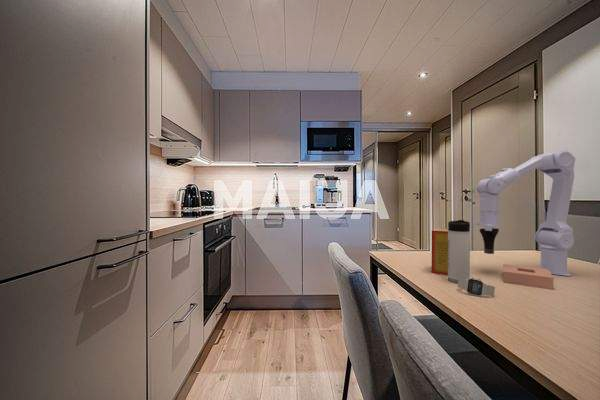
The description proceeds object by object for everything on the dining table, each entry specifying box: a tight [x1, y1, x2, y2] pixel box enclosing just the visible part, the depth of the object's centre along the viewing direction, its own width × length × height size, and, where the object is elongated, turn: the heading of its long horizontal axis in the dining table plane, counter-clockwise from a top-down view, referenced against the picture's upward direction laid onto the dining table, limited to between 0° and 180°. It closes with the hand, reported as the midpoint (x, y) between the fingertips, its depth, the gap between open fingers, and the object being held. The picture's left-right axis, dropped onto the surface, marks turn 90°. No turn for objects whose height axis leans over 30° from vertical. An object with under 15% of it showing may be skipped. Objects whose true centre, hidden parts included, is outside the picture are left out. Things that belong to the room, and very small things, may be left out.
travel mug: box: [447, 219, 471, 284], centre depth 91 cm, size 6×7×20 cm
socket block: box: [502, 263, 554, 290], centre depth 91 cm, size 12×12×4 cm
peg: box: [483, 245, 495, 255], centre depth 100 cm, size 3×3×7 cm
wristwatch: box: [457, 276, 496, 297], centre depth 80 cm, size 9×6×5 cm
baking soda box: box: [431, 227, 448, 276], centre depth 102 cm, size 10×6×16 cm
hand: (489, 248), depth 100 cm, fingers closed on peg, 3 cm apart
